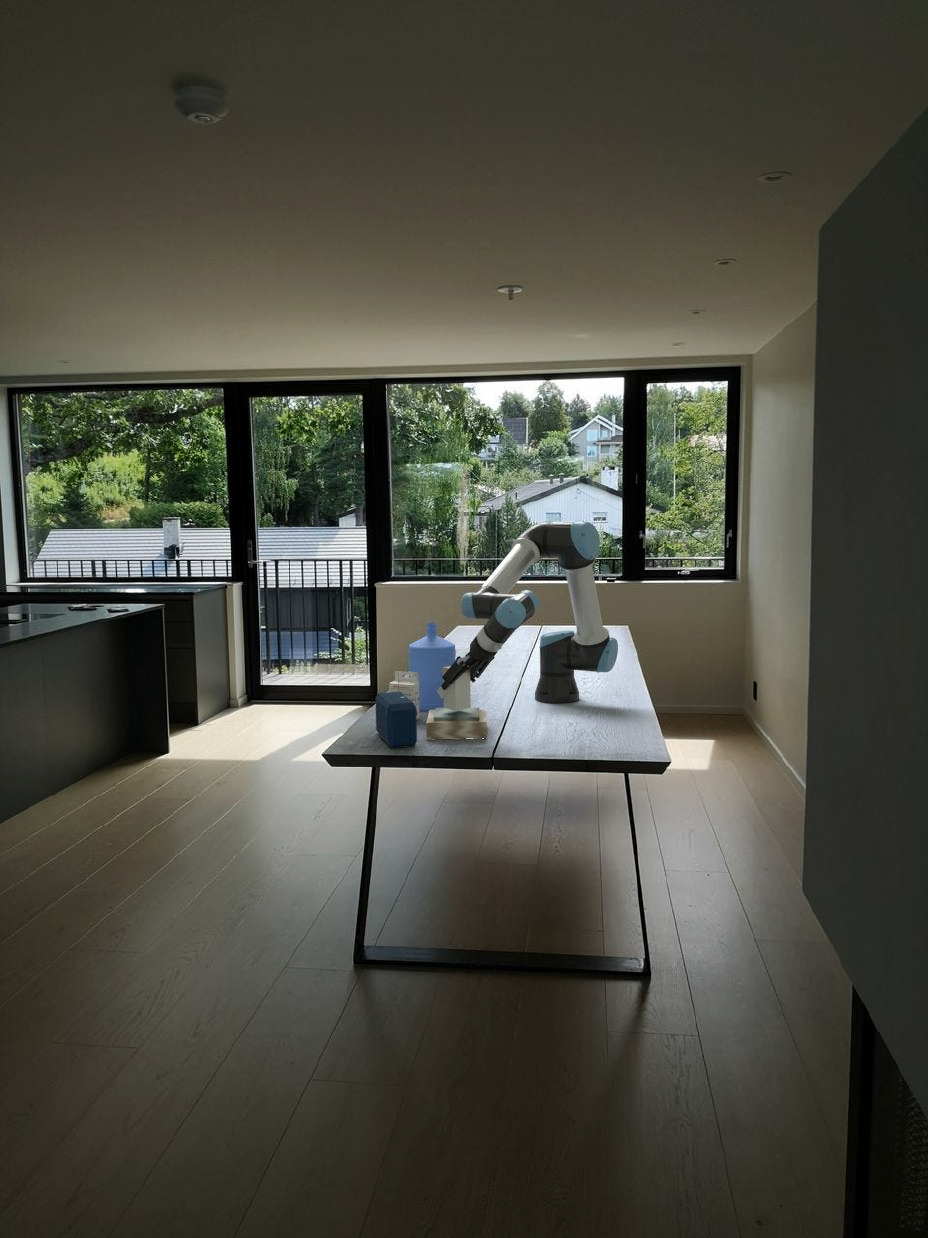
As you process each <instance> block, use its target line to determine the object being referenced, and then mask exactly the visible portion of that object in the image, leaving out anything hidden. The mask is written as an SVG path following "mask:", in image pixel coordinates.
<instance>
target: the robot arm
mask: <svg viewBox="0 0 928 1238" xmlns="http://www.w3.org/2000/svg"><path fill="white" fill-rule="evenodd" d="M600 545H601V540H600V535H599V532H598V530H597V528H596V526H595V525H594V524H592V523H591V522H588V521H581V520H574V521H570V520H569V521H568V520H567V521H564V520H563V521H553V520H552V521H550V520H548V521H542V522H539V523H536V524H535V525H533V526H531V527H529V528H527V529H526V530H524V531H523V532H522V533H521V534H520V535H518V537H517V538H516V539H515V540H514V541H513V542H512V544H511V550H510V551H509V552H508V554H507V555H506V556H505V557H504V558H503V560H502V561H501V562H500V563H499V565H498V566H497V567H496V568H495V570H494V571H493V572H492V573H491V574H490V575H489V577H488V578H487V579H486V580H485V581H484V583H483V584H482V585H481V586H480V588H479V589H478V590H477V591H475V592H474V591H471V592H466V593H464V594H463V595H462V597H461V601H460V609H461V613H462V615H463V616H464V617H466V618H469V619H475V620H487V622H486V623H485V624H484V625H483V627H482V628H481V629H480V630H479V632H478V633H476V636H475V637H474V638H473V640H472V641H471V642H470V643H469V651H468V652H467V653H466V654H465V655H464V656H463V657H461V656H460V655H459V656H456V657H455V662H454V663H453V664H452V665H451V667H450V668H449V669H448V670H447V671H446V673H445V674H444V675H443V676H442V678H443V680H444V683H443V684H442V685H441V686H440V688H439V689H438V690H437V692H438V694H439V695H440V697H441V698H444V696H445V695H446V694H447V693H448V691H449V690H450V689H451V688H452V686H453V685H454V684H453V683H454V682H455V681H456V680H457V679H458V678H459V677H460V676H461V675H462V674H463V673H464V672H466V671H467V670H470V682H471V683H475V682H476V681H477V680H476V679H479V678H480V677H481V676H482V674H483V673H484V672H485V670H486V669H487V667H488V666H489V665H490V664H491V662H492V661H493V660H495V656H496V655H497V653H498V652H499V651H500V650H502V648H503V645H505V643H506V642H507V641H508V639H510V637H511V636H512V635H513V634H514V632H516V630H518V629H519V627H521V626H522V625H523V624H524V623H525V622H527V621H528V620H529V619H531V618H532V617H534V615H535V614H536V613H537V611H539V608H540V601H539V597H538V595H536V593H534V592H533V591H532V590H529V589H524V590H521V591H519V592H517V593H512V594H511V593H510V591H511V590H512V589H513V588H514V587H515V585H516V584H517V583H518V581H520V579H521V578H522V577H523V575H524V574H525V572H526V571H527V570H528V569H529V567H530V566H533V565H535V564H536V563H538V561H540V560H542V559H557V562H558V565H559V568H561V569H562V570H564V571H565V577H566V582H567V586H568V587H567V588H568V592H569V597H570V602H571V608H572V612H573V617H574V618H573V619H574V622H575V627H576V632H575V631H574V630H560V631H552V632H546V633H544V634H542V635H540V640H539V679H538V681H537V684H536V688H535V692H534V699H535V700H536V701H539V702H543V703H549V704H550V703H551V704H552V703H553V704H563V703H565V704H566V703H574V702H577V701H579V700H580V691H579V688H578V685H577V681H576V678H575V671H583V672H594V673H595V672H596V673H599V674H600V673H609V672H611V671H612V670H613V669H614V666H615V664H616V661H617V658H618V651H619V644H618V640H617V639H616V638H615V637H611V636H610V633H609V632H610V631H609V629H608V628H606V627H604V624H603V619H602V614H601V609H600V602H599V597H598V591H597V587H596V586H597V585H596V581H595V575H594V570H593V565H594V563H595V562H596V558H597V557H598V556H599V553H600V550H601V546H600ZM475 678H476V679H475Z"/></svg>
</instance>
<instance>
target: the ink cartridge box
mask: <svg viewBox="0 0 928 1238" xmlns="http://www.w3.org/2000/svg"><path fill="white" fill-rule="evenodd" d="M398 675H399V692H401V693H402V694H404V695H405V696H406V697H407V698H408V699H409V700H411V701H412V702H413V703H414V705H415V706H416V710H417V720H418V719H420V711H419V682H418V673H417V672H409V671H400V670H399V671H398V670H396V671H394V680H393V681H391V682H389V683H388V692H398ZM406 675H407V676H408V677H406ZM409 676H411V677H410V678H409Z"/></svg>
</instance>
